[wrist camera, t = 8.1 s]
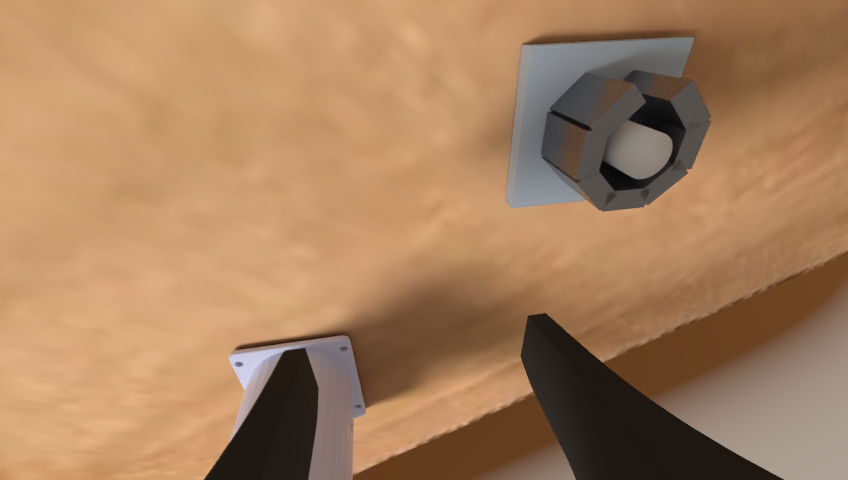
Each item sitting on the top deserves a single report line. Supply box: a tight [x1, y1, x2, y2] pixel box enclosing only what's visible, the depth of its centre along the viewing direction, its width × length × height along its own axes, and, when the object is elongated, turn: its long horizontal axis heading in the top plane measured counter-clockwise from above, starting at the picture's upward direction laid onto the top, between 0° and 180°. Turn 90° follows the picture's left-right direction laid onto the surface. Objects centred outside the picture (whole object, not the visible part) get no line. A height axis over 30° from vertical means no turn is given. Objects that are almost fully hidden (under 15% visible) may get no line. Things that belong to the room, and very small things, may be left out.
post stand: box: [506, 37, 695, 208], centre depth 16 cm, size 8×8×5 cm
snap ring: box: [541, 70, 711, 211], centre depth 16 cm, size 6×6×4 cm
